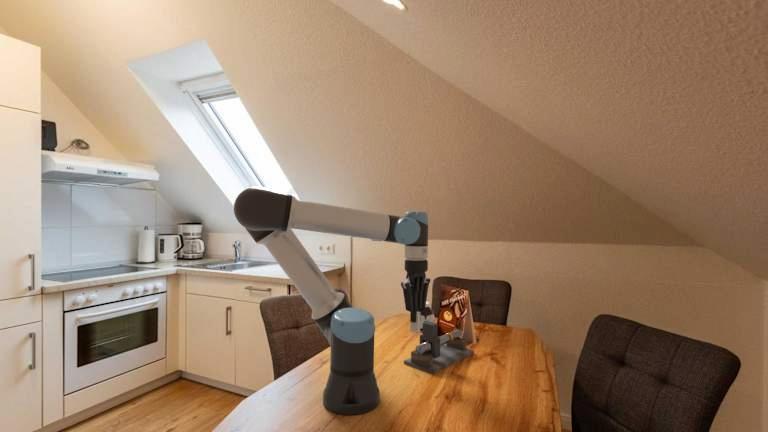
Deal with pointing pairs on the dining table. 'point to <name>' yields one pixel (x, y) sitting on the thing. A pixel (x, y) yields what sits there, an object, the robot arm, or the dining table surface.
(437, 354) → the dark grey tall block
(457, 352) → the pipe rig
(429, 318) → the spread jar
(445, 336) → the pipe
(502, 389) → the dining table surface
